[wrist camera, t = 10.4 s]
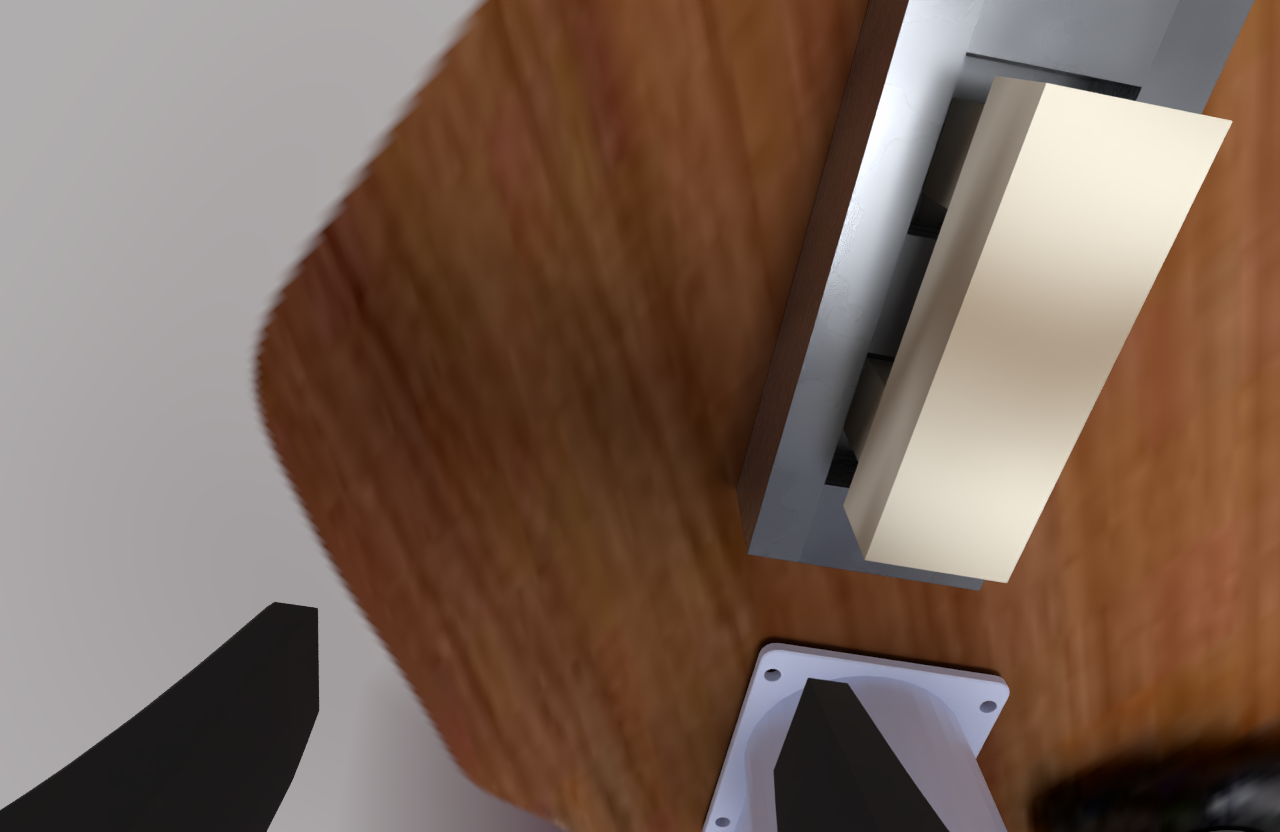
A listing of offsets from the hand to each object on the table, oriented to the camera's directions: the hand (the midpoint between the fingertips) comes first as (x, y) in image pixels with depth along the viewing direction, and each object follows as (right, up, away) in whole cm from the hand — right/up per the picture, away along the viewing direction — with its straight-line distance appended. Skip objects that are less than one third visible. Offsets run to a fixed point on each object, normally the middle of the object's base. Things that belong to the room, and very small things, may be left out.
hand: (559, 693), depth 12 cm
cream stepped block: (+8, +7, +7) cm, 13 cm away
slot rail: (+8, +8, +8) cm, 14 cm away
